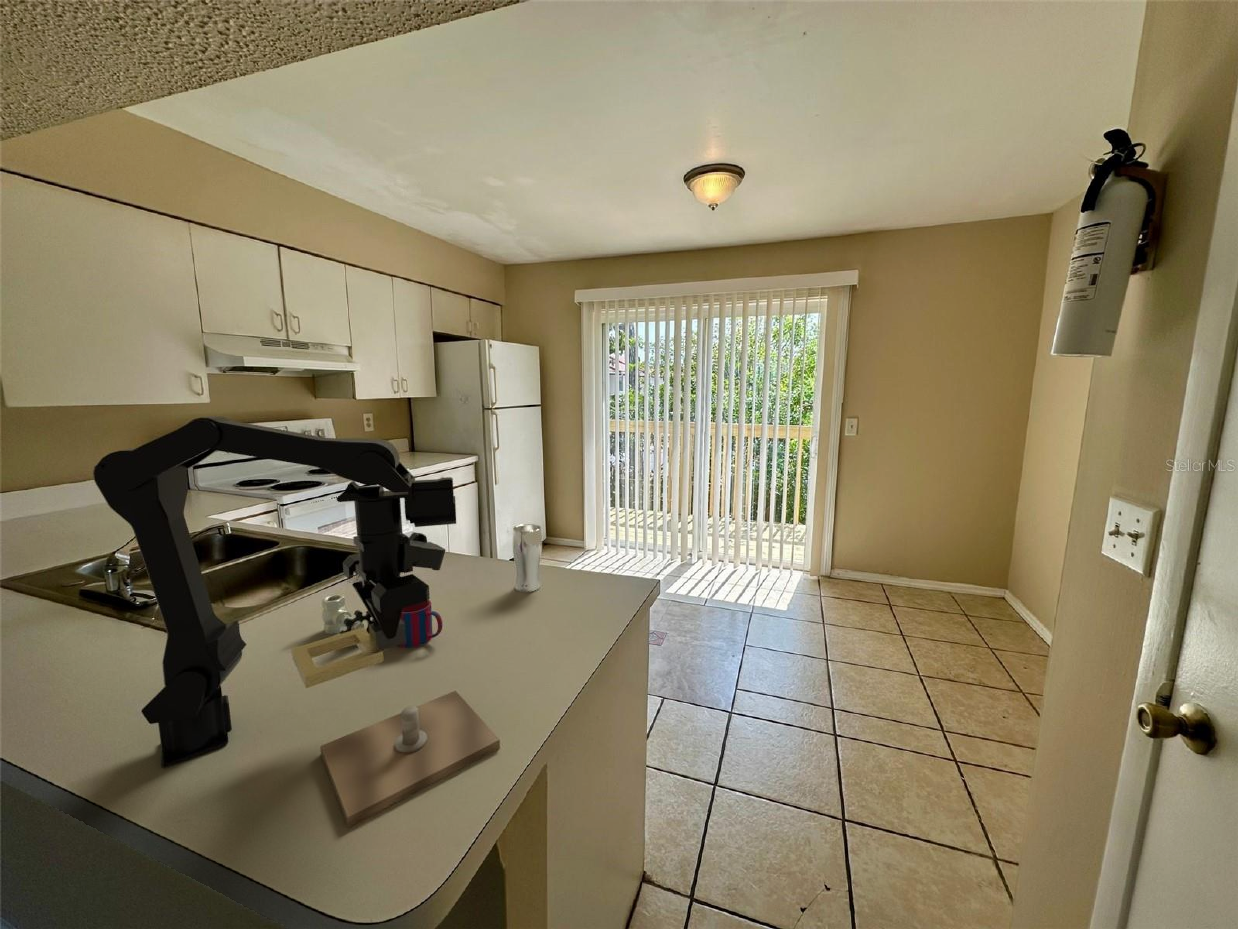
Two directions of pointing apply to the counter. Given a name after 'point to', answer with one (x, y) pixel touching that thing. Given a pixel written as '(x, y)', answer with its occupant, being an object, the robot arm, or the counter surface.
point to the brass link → (369, 656)
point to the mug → (419, 624)
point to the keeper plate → (404, 754)
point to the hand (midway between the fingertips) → (387, 633)
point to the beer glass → (527, 556)
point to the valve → (341, 616)
